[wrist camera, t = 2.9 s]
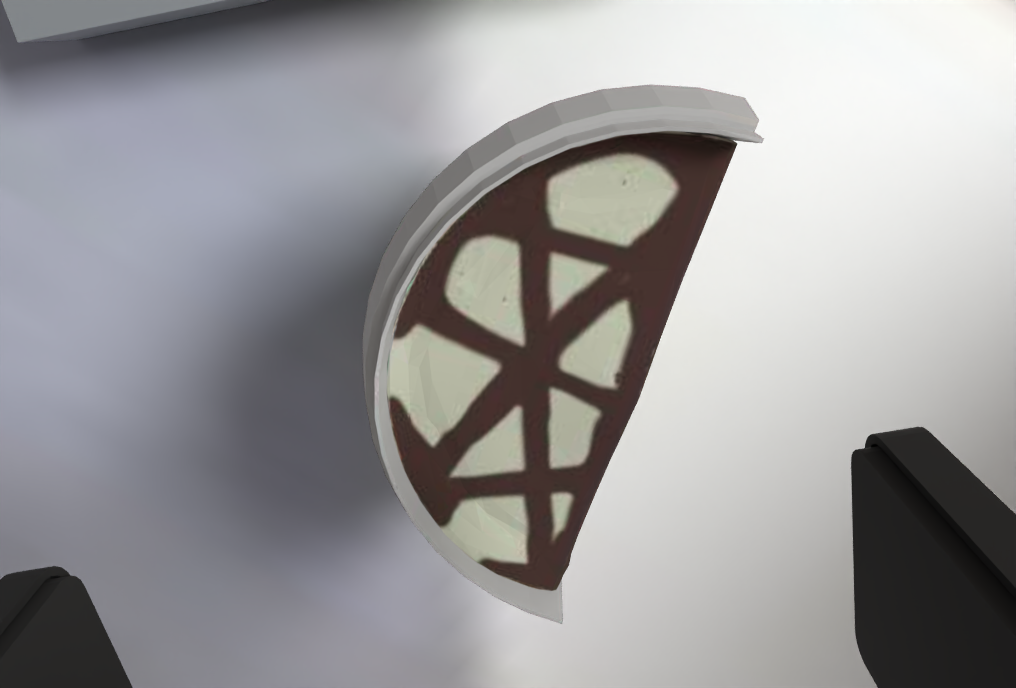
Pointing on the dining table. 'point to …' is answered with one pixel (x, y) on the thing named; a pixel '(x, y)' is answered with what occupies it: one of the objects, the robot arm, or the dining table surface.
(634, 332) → the food container
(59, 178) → the dining table surface
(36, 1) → the tray
